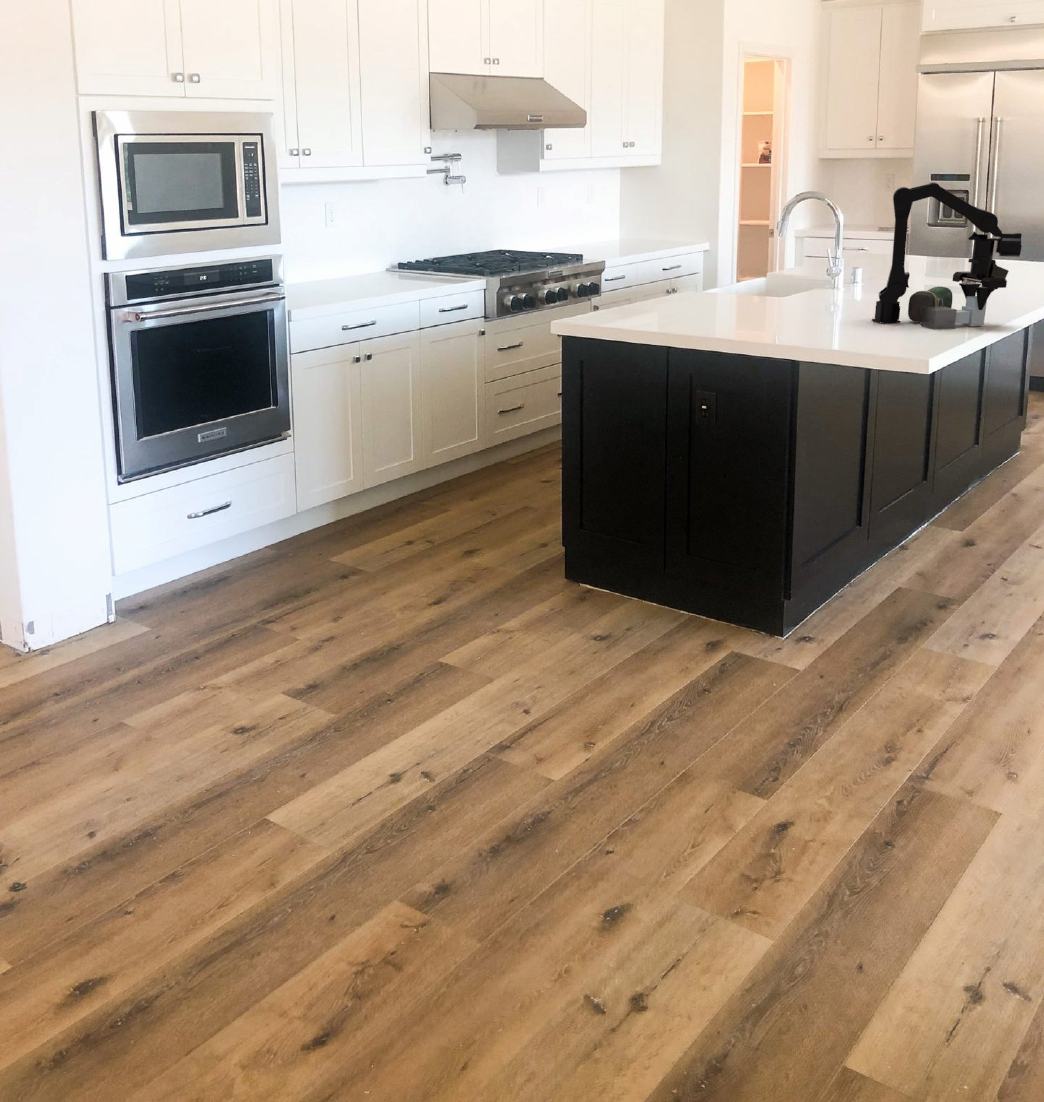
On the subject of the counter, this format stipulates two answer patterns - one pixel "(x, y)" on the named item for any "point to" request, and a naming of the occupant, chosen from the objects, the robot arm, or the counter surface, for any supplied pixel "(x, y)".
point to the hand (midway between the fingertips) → (975, 308)
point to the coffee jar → (928, 301)
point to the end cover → (971, 313)
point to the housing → (938, 317)
